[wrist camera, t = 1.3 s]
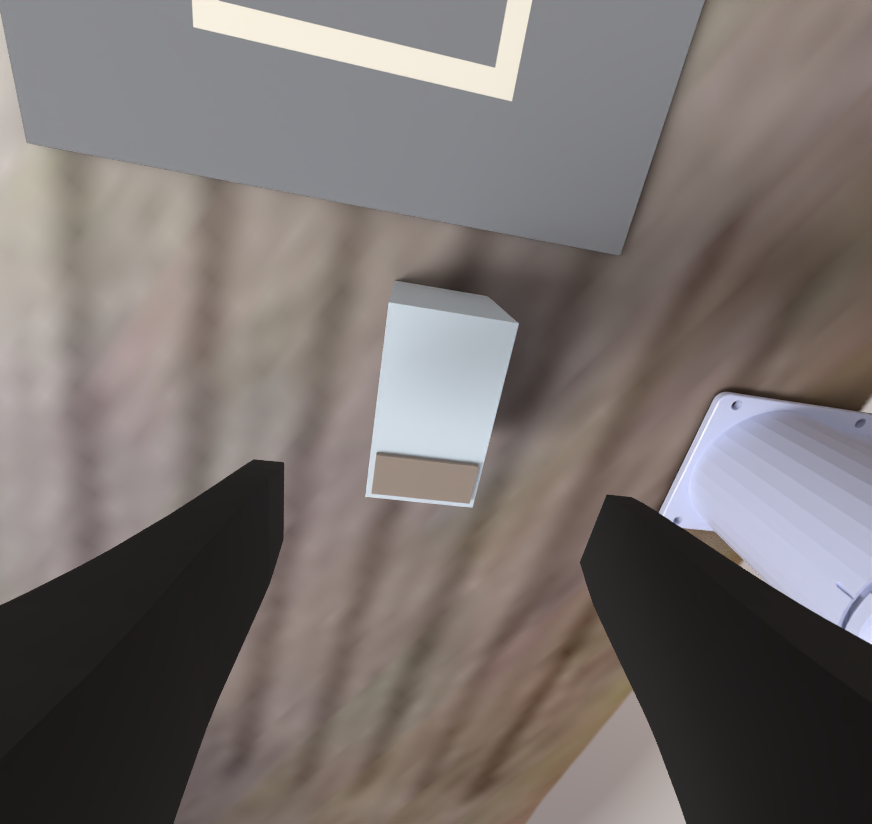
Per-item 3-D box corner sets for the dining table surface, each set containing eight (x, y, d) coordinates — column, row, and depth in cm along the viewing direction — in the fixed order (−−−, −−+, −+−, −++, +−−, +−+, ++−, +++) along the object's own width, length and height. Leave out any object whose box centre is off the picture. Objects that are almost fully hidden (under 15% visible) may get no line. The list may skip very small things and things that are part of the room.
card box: (487, 295, 17) (520, 324, 12) (456, 438, 20) (473, 510, 15) (394, 280, 17) (388, 303, 12) (376, 428, 20) (364, 499, 15)
